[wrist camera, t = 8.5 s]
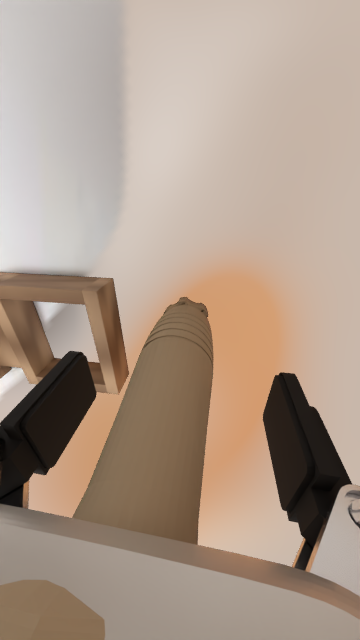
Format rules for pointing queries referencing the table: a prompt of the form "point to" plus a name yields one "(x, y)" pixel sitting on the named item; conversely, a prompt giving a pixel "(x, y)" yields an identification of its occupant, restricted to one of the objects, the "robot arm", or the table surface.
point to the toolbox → (29, 337)
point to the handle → (136, 470)
